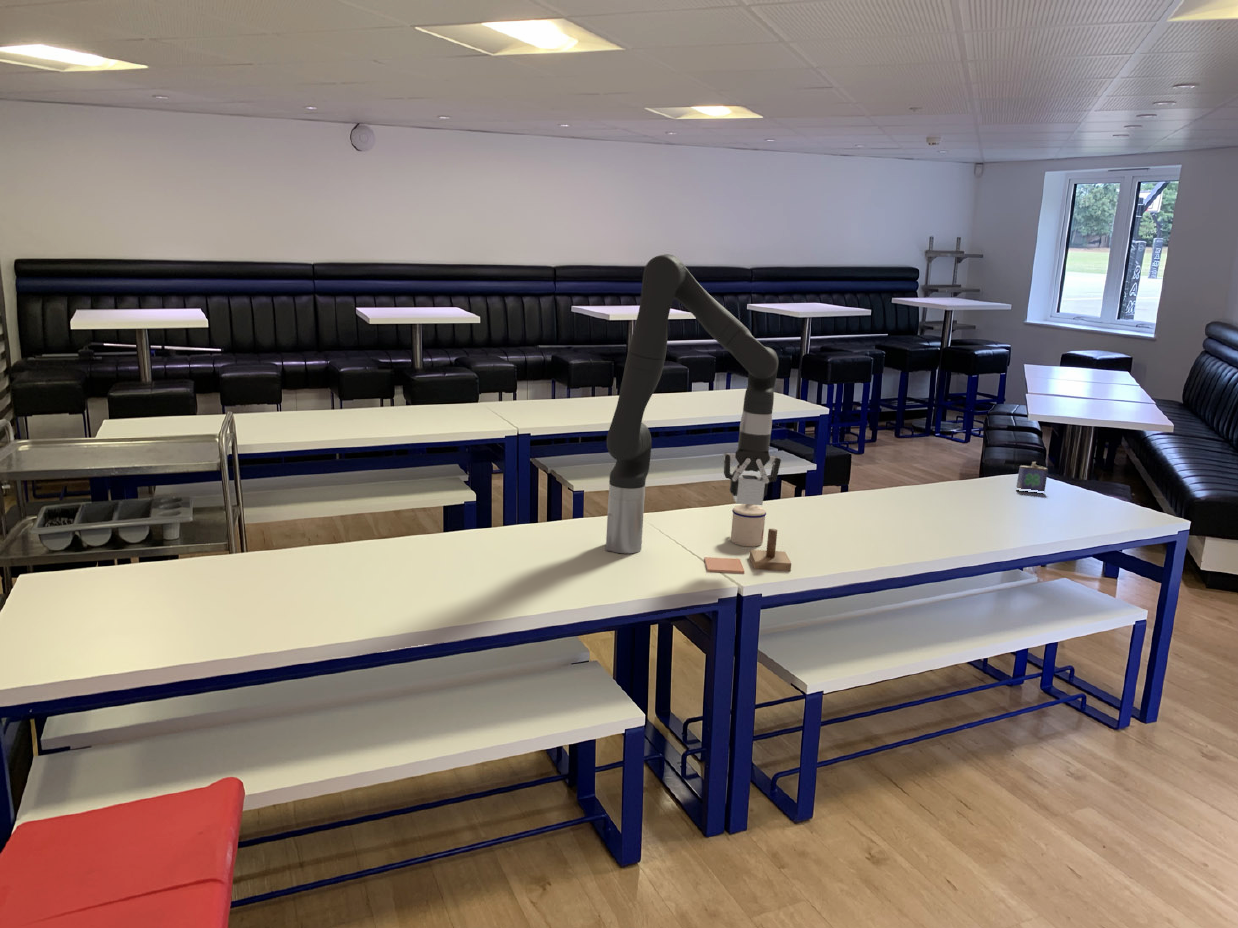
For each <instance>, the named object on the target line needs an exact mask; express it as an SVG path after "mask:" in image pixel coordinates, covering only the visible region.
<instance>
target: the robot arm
mask: <svg viewBox="0 0 1238 928" xmlns="http://www.w3.org/2000/svg"><path fill="white" fill-rule="evenodd" d="M641 283H642V284H641V292H640V302H639V308H638V309H639V310H638V313H637V317H636V321H635V324H634V327H633V330H632V335H631V338H630V341H629V345H628V346H629V347H628V349H627V356H626V360H625V365H624V370H623V374H622V375H623V376H622V381H621V384H620V389H619V394H618V399H617V404H616V407H615V410H614V413H613V417H612V421H611V422H610V425H609V429H608V432H607V436H606V448H607V452H608V454H609V455H610V456H611V457H612V458H613V459H614V460H616V461H615V465H614V466H613V468H612V470H611V471H610V473H609V478H608V479H609V481H608V483H609V484H608V499H607V501H608V502H607V503H608V504H607V517H606V518H607V521H606V534H605V535H606V536H605V551H606V552H608V551H609V552H613V553H618V554H635V553H638V552H640V551H641V550H642V547H643V546H642V544H643V527H644V509H645V497H646V496H645V495H646V480H647V477H648V475H649V472H650V464H651V455H652V454H651V452H652V435H651V432H650V429H649V428H648V426H647V425H646V424H645V423H643V418H644V417H643V416H644V413H645V410H646V409H647V408H646V407H647V405H648V404H649V401H650V399H651V397H652V396H653V394H654V392H655V390H656V389H657V386H658V384H659V382H660V380H661V377H662V374H663V371H664V370H663V369H664V364H665V361H666V355H667V351H668V350H667V348H668V324H669V316H670V312H671V309H672V305H673V301H674V300H676V301H677V302H679V304H681V305H683V306H684V307H685V308H686V309H687V311H689V312H690V313H691V314H692V315H693V316H694V317H695V319H696V320H697V321H698V322H699V323H700V325H701V326H702V328H704V330H705V332H707V333H708V334H709V336H711V337H712V338H713V339H714V340H716V342H717V343H719V344H720V346H722V347H723V348H724V349H725V350H726V351H728V352H729V353H730V354H731V355H732V356H733V357H734V358H735V359H736V361H737V362H739V364H740V365H741V367H743V368H744V369H745V370H746V371H747V372H748V377H747V385H746V386H747V387H746V389H745V393H744V398H743V406H742V407H743V408H742V415H741V417H740V423H739V433H738V441H737V442H738V443H737V450H736V452H735V453H729V452H728V451H727V452H726V451H725V452H724V453H723V476H724V477H725V479H729V480H730V485H729V492H730V493H731V495H732V497H733V496H736V489H737V479H738V478H739V476H740V475H741V474H744V471H745V472H750V471H751V472H757V473H758V472H759V475H761V477H762V478H763V479H764V481H765V488H764V496H763V499H764V498H765V496H766V497H767V495H768V488H769V486H768V485H769V484H770V483H771V482H773V483H774V482H776V481H777V479H778V475H779V469H780V466H781V462H782V460H781V458H780V457H779V456H777V455H775V456H772V455H770V453H769V452H770V443H771V435H772V426H773V410H774V401H775V400H774V399H775V387H776V382H777V381H776V379H777V376H778V375H777V374H778V370H779V357H778V354H777V352H776V351H775V350H774V349H773V348H771V347H768V346H764V345H763V344H762V343H761V342H760V341H759V340H757V339H756V338H755V336H754V335H752V332H751V331H750V330H749V329H748V328H747V327H746V325H744V324H743V323H742V322H741V321H740V320H739V319H738V318H736V317H735V316H734V315H733V314H732V313H731V312H730V311H728V309H726V307H724V306H723V305H722V304H721V303H720V302H718V301H717V300H716V299H715V298H714V297H713V296H712V295H710V294H709V292H707V290H706V289H705V288H703V286H702V285H701V284H700V283H699V282H698V281H697V280H696V278H695V277H694V276H693V274H691V271H689V269H688V268H687V267H686V266H685V264H684V263H683V262H682V260H681V259H680V258H678V257H677V256H676V255H673V254H670V253H669V254H667V253H666V254H660V255H656V256H654V257H652V258H651V259H650V260H649V261H648V262H647V263H646V264H645V267H644V270H643V274H642V281H641ZM735 459H736V461H737V463H738V464H737V465H736V466H735V469H734V471H733V472H732V473H731V463H732V462H733V461H734V460H735ZM769 462H770V464H771V471H770V475H768V474H767V472H766V470H765V468H764V467H765V466H766V465H767V463H769Z"/></svg>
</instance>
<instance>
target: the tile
mask: <svg viewBox="0 0 1238 928" xmlns="http://www.w3.org/2000/svg"><path fill="white" fill-rule="evenodd" d="M703 558H704V565H705V568H706V571H707V572H709V573H724V574H725V573H727V574H729V573H730V574H745V569H744V566H743V563H742V560H741V559H740V558H731V557H729V558H728V557H711V556H710V557H709V556H708V557H707V556H704V557H703Z"/></svg>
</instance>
